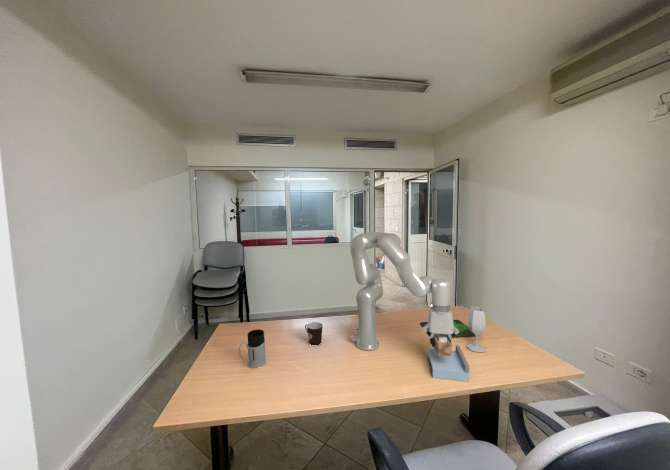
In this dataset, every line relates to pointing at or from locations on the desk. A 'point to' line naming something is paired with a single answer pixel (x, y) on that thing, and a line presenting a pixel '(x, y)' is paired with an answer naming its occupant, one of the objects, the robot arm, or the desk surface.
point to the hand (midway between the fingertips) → (440, 345)
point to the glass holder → (255, 348)
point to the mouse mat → (462, 328)
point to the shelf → (449, 365)
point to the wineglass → (476, 327)
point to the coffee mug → (314, 332)
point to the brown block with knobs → (442, 345)
